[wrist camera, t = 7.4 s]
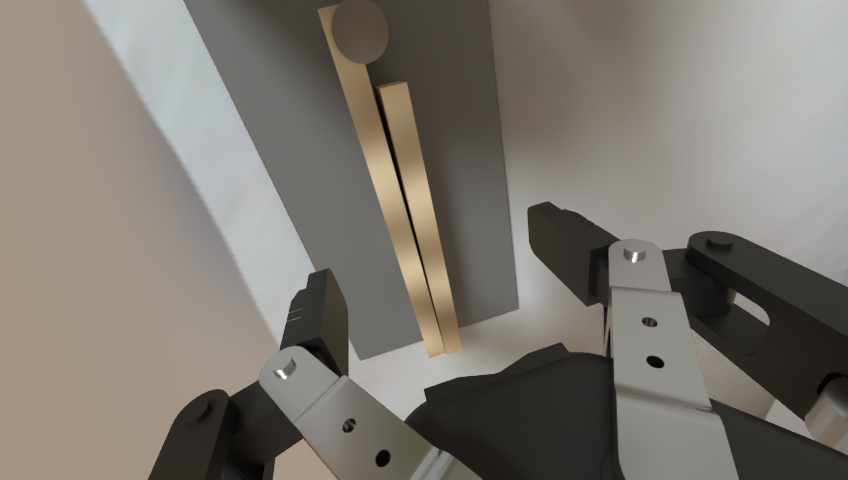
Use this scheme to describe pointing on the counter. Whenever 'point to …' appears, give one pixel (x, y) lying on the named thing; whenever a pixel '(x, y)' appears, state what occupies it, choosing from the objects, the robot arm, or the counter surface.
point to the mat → (344, 159)
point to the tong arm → (419, 204)
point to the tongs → (378, 141)
